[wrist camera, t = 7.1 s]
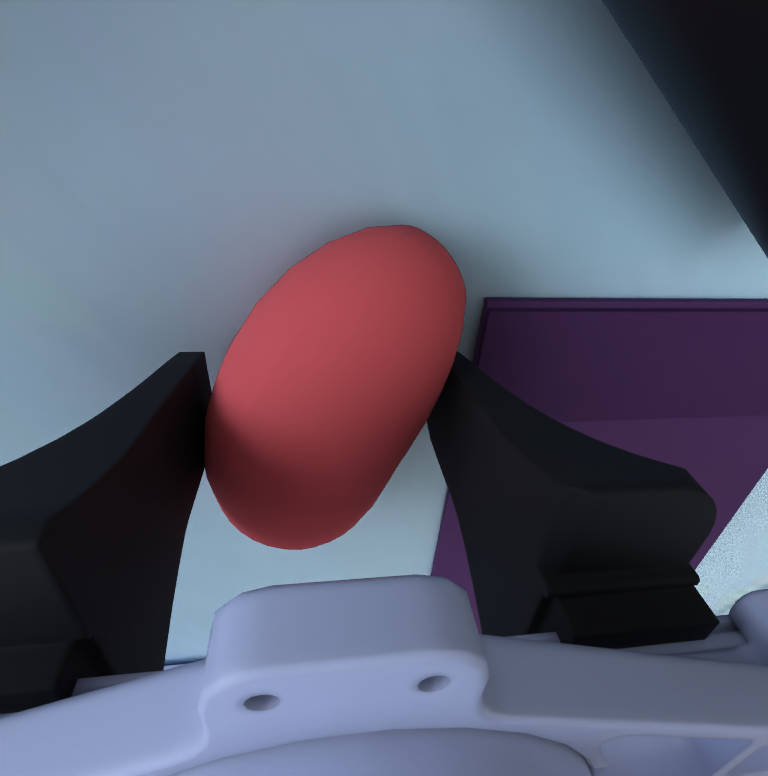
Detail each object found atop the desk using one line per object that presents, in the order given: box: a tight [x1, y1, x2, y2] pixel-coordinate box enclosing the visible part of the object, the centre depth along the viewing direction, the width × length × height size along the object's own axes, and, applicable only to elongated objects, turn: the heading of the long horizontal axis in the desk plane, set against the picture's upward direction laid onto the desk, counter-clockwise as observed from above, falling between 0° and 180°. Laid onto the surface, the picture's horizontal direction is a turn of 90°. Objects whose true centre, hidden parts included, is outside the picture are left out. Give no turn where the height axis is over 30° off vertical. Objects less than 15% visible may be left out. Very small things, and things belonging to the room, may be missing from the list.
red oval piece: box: [204, 225, 466, 550], centre depth 12 cm, size 5×9×6 cm, turn 143°
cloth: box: [431, 298, 768, 634], centre depth 20 cm, size 20×13×1 cm, turn 176°
